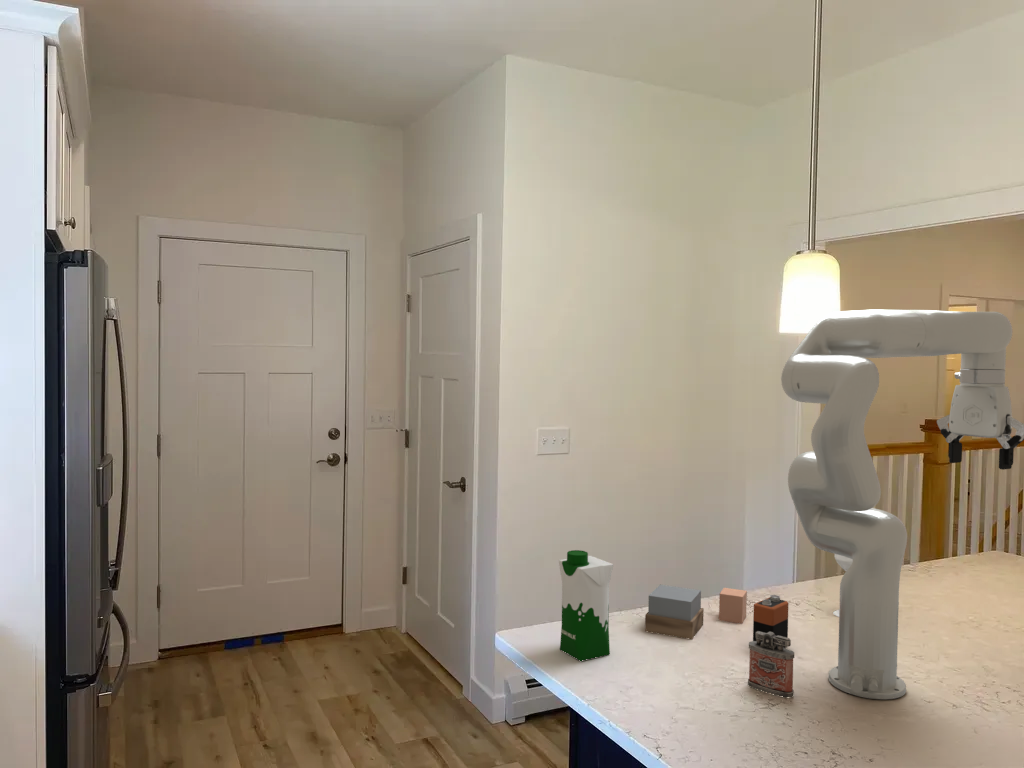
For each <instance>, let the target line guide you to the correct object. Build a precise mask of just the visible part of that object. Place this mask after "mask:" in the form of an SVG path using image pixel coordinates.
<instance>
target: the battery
mask: <svg viewBox="0 0 1024 768" xmlns="http://www.w3.org/2000/svg"><path fill="white" fill-rule="evenodd" d="M769 596H770V597H767V598H764V599H762V600H760V601H758V602H755V603H753V616H752V617H753V621H752V622H753V624H752V625H753V626H752V641H756V632H757V631H760V632H764V633H768V632H773V633H774V634H775V636H778V635H779V636H783V637H786V638H789V634H788V633H789V601H787V600H783V599H781V596H780V595H777V594H770V595H769ZM761 642H762V641H761ZM778 645H779V644H778ZM785 647H786V646H783V648H785Z"/></svg>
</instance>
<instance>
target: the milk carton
mask: <svg viewBox="0 0 1024 768" xmlns="http://www.w3.org/2000/svg"><path fill="white" fill-rule="evenodd" d="M558 564H559V565H558V566H559V571H560V577H561V629H560V644H559V650H560V651H561V650H562V652H563V651H564V653H565V652H566V653H565V654H567V653H568V654H569V655H568V654H567V655H568V656H570V655H571V656H570V657H572V656H573V657H575V658H577V659H578V660H577V659H576V660H577V661H579V660H580V661H581V662H583V661H582V660H585V661H587V660H586V659H590V660H592V659H591V658H594V659H596V658H595V657H598V658H601V657H600V656H602V657H605V656H604V655H606V656H609V654H611V651H610V649H611V648H610V630H609V627H610V626H609V625H610V624H609V622H610V620H609V619H610V618H609V615H610V614H609V613H610V612H609V611H610V610H609V609H610V581H611V576H612V571H613V567H614V564H613V563H611V562H608V561H605V560H604V559H600V558H599V557H595V556H593V555H589V553H588V551H585V550H581V549H580V550H578V549H575V550H568V551H567V553H566V558H563V559H558ZM573 657H572V658H573ZM575 658H574V659H575ZM580 661H579V662H580Z"/></svg>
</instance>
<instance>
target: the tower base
mask: <svg viewBox="0 0 1024 768" xmlns="http://www.w3.org/2000/svg"><path fill="white" fill-rule="evenodd" d="M704 613H705V612H704V608H703V607H701V609H700V610H699V611H698V613H697V614H696V615H695V616H694V618H693V619H692V620H691V621H687V620H681V619H675V618H668V617H662V616H656V615H650V614H648V611H647V613H645V614H644V615H645V621H644V627H645V628H644V632H646V631H648V632H647V633H651V632H653V633H652V634H657V633H659V634H658V635H663V634H665V635H664V636H669V635H670V637H675V636H677V637H676V638H681V637H682V639H686V638H689V639H688V640H693V639H694V638H695V637H696V636H697V634H698V632H699V631H700V630H701V628H702V627H703V626H704ZM694 636H695V637H694Z"/></svg>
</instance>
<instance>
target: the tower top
mask: <svg viewBox="0 0 1024 768" xmlns="http://www.w3.org/2000/svg"><path fill="white" fill-rule="evenodd" d="M701 605H702V590H701V589H694V588H688V587H687V588H686V587H680V586H673V585H666V584H659V585H658V586H657V587H656V588H655V589H654V590H653V591H652V592H650V594H648V606H647V607H648V608H647V609H648V610H647V612H648V614H650V615H656V616H662V617H668V618H675V619H681V620H687V621H691V620H692V619H693V618H694V616H695V615H696V614H697V613H698V611H699V610H700V609H701V608H702V606H701Z"/></svg>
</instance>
